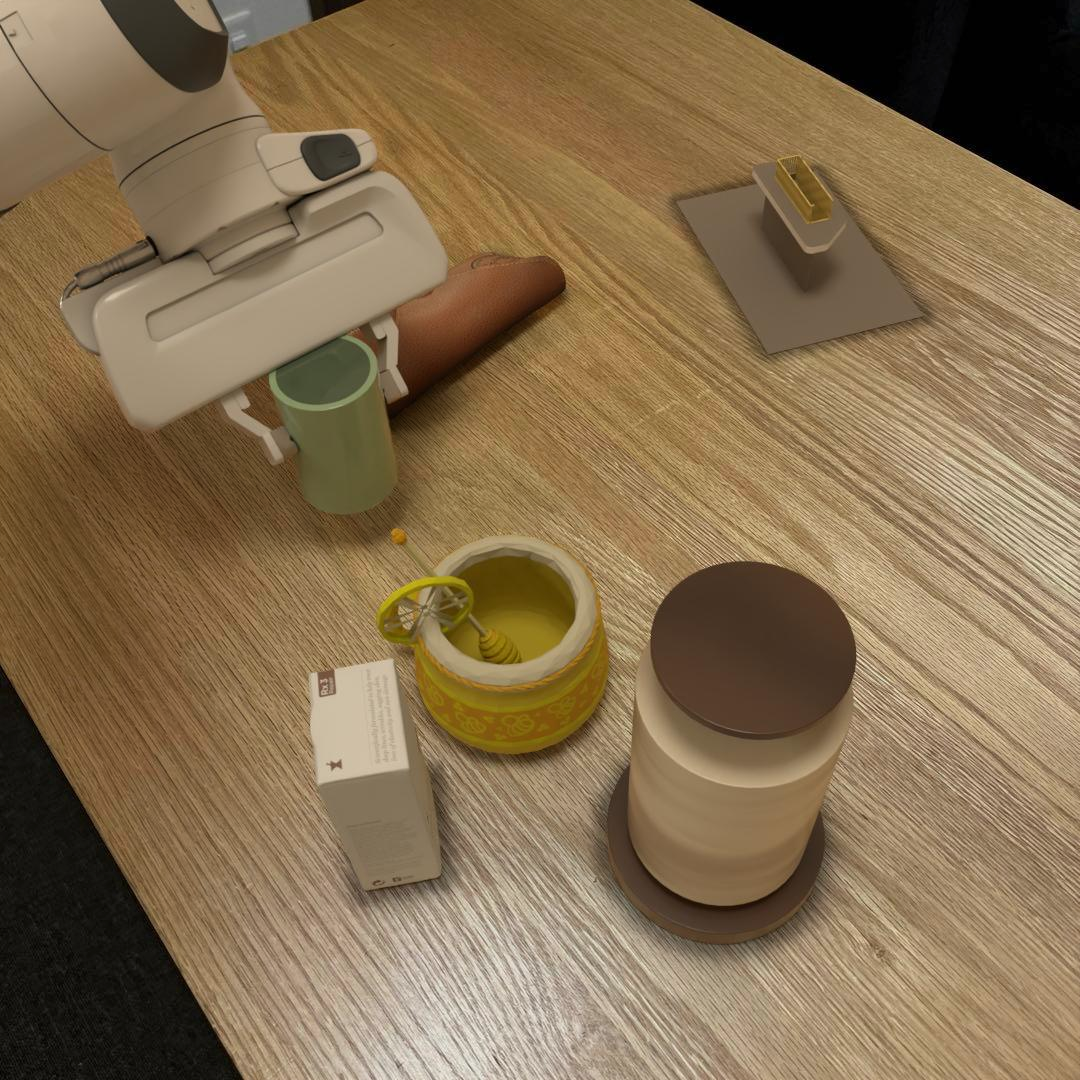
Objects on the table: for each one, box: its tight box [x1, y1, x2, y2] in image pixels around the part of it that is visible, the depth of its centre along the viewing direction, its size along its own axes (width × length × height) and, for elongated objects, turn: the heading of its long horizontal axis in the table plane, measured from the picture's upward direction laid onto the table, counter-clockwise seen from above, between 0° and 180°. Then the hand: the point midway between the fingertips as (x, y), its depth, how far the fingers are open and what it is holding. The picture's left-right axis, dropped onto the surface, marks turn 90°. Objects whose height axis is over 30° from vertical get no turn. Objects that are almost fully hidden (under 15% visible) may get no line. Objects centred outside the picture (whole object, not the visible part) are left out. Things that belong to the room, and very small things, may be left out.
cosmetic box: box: [308, 657, 442, 891], centre depth 58 cm, size 6×4×12 cm
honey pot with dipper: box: [375, 528, 610, 755], centre depth 63 cm, size 13×11×12 cm
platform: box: [675, 153, 925, 355], centre depth 86 cm, size 12×18×7 cm, turn 17°
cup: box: [268, 334, 399, 516], centre depth 69 cm, size 6×6×9 cm
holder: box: [606, 560, 858, 945], centre depth 54 cm, size 11×11×19 cm
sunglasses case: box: [350, 251, 567, 422], centre depth 84 cm, size 18×7×7 cm
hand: (342, 429), depth 68 cm, fingers closed on cup, 6 cm apart
